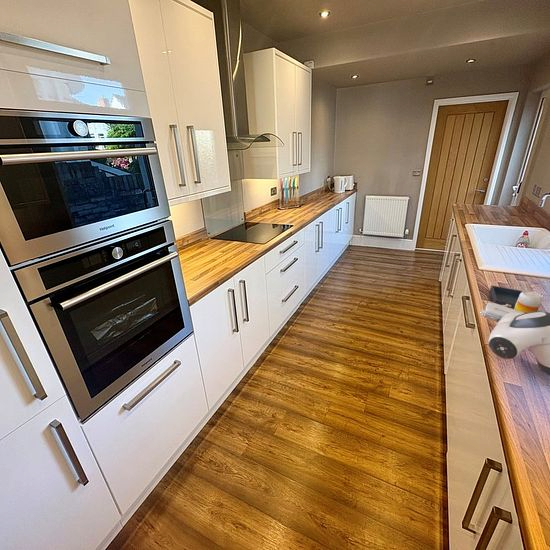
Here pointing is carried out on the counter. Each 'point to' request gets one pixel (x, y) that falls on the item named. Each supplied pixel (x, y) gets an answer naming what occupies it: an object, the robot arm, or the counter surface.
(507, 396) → the counter surface
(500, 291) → the tray
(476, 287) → the counter surface
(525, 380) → the counter surface
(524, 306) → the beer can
